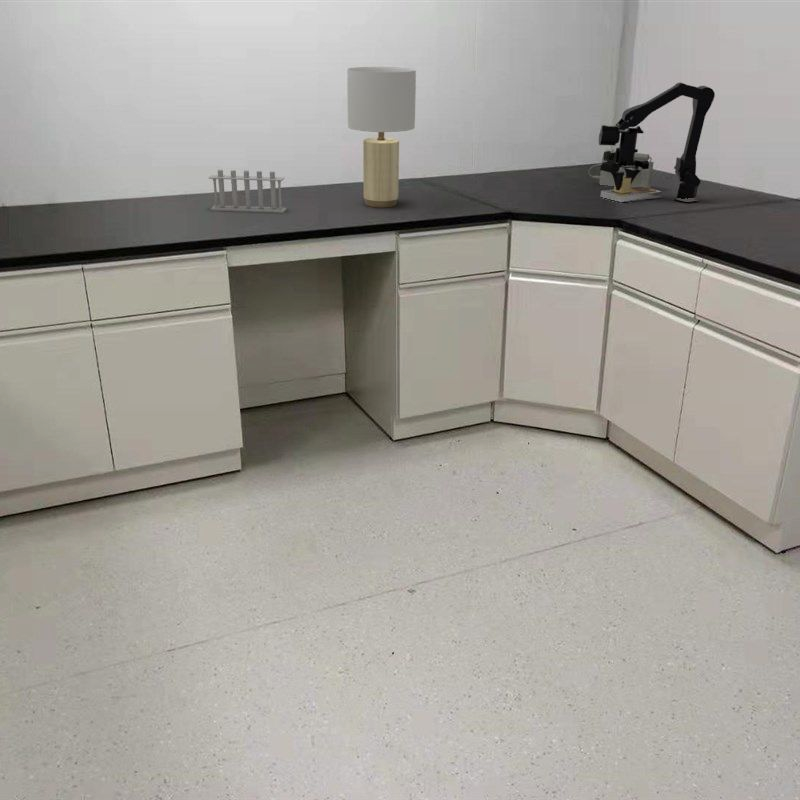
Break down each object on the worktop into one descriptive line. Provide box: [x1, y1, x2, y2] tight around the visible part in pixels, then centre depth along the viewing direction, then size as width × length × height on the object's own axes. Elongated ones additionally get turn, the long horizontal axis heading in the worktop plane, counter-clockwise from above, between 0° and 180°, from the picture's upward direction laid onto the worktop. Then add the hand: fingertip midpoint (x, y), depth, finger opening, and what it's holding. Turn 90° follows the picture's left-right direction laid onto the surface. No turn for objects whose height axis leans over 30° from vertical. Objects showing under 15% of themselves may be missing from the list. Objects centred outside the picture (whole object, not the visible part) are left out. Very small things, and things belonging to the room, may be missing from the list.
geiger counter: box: [587, 148, 655, 189], centre depth 324 cm, size 14×6×25 cm
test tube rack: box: [208, 169, 287, 214], centre depth 280 cm, size 25×4×13 cm, turn 85°
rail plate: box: [600, 186, 663, 202], centre depth 309 cm, size 20×11×3 cm, turn 119°
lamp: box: [346, 66, 417, 209], centre depth 284 cm, size 23×23×44 cm
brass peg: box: [613, 176, 631, 194], centre depth 305 cm, size 4×4×8 cm
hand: (621, 189), depth 305 cm, fingers closed on brass peg, 4 cm apart
